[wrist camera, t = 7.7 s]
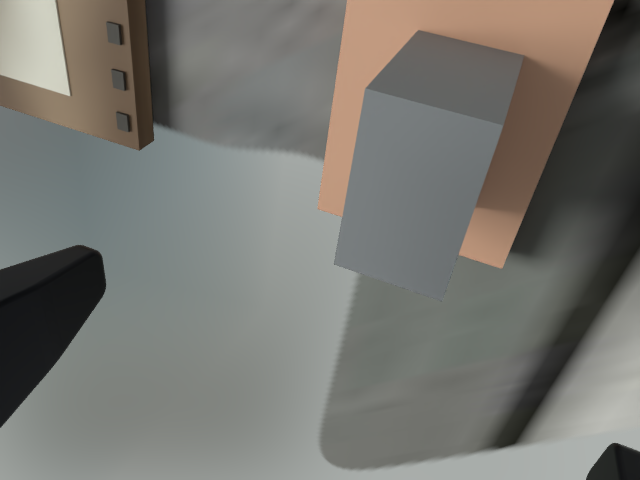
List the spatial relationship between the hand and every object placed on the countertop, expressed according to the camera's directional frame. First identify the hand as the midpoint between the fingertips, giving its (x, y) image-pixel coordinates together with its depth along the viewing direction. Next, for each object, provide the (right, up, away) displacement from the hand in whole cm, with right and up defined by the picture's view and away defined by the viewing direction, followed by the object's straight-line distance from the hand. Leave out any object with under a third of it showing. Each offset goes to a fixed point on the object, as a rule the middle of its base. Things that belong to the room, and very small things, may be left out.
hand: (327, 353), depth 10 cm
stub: (+4, +6, +9) cm, 11 cm away
